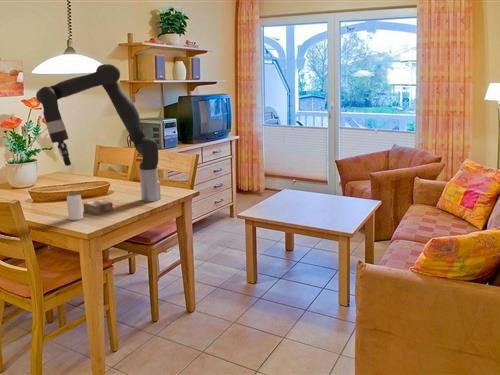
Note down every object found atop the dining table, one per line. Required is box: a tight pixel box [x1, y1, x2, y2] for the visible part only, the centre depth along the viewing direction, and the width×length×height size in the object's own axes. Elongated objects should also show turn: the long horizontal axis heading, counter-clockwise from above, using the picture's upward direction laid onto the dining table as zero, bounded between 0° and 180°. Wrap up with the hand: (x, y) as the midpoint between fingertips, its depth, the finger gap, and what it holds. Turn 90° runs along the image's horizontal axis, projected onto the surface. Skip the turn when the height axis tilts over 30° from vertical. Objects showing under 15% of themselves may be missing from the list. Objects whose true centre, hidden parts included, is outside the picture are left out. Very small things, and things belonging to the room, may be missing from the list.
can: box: [66, 192, 84, 222], centre depth 226 cm, size 6×6×12 cm
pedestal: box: [82, 199, 114, 216], centre depth 240 cm, size 10×10×4 cm
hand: (68, 165), depth 223 cm, fingers open, 8 cm apart
